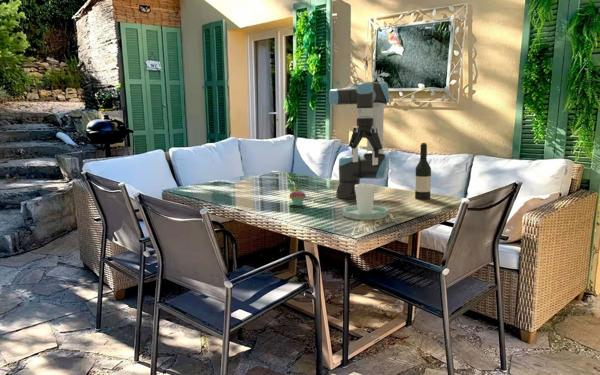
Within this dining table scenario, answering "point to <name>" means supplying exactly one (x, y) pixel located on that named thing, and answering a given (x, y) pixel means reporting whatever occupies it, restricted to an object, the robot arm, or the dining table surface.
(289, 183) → the dining table surface
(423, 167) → the wine bottle
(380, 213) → the saucer
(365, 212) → the foam cup
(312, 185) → the dining table surface
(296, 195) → the cupcake
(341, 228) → the dining table surface
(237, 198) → the dining table surface
